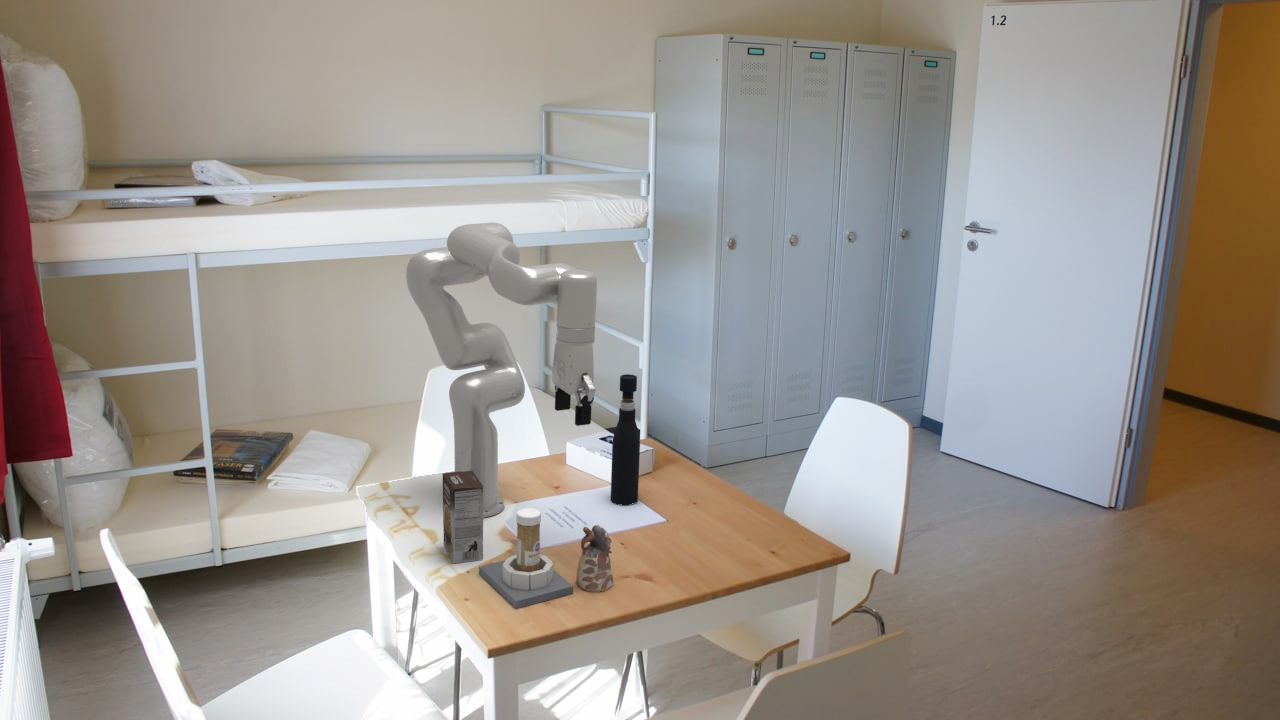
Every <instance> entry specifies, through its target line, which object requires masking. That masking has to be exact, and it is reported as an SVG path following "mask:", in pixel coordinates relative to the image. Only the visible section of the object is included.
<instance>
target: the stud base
mask: <svg viewBox="0 0 1280 720" xmlns="http://www.w3.org/2000/svg"><path fill="white" fill-rule="evenodd" d="M478 574H479V575H480V576H481V577H482V578H483V579H484V580H485V581H486V582H488V584H489V585H490V586H492V587H493V589H494V590H496V591H497V593H498V594H500V595H501V596H502V597H503V598H504V599H505V600H506V602H508V603H509V604H510V605H511V606H512V607H514V609H520V608H524V607H528V606H532V605H536V604H538V603H543V602H545V601H546V602H547V601H551V600H554V599H558V598H562V597H565V596H568V595H569V596H570V595H574V585H573V584H571V583H570V582H569V581H568V580H567V579H566V578H564V577H563V576H561V575H560V574H559V572H557V571H555V569H554V561H552V560H551V559H549V558H548V556H546V555H544V554H540V562H539V570H537V571H533V572H522V571H517V554H514V555H510V556H509V557H507V558H506V559H505V560H501V561H496V562H492V563H488V564H484V565H481V566H480V565H479V566H478Z"/></svg>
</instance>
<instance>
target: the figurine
mask: <svg viewBox="0 0 1280 720" xmlns="http://www.w3.org/2000/svg"><path fill="white" fill-rule="evenodd" d="M582 531H583V533H584V534H585V536H583V538H581V542H580V543H581V544H580V548H581V554H580V557H579V560H578V565H577V571H576V583H577V585H578V586H577V587H579V588H580V589H582V590H584V591H586V592H591V591H592V592H593V593H594V592H595V593H600V591H602V592H605V591H608V590H609V589H610V588H611V587H614V576H613V571H612V564H611V558H610V554H612V553H613V550H612V549H611V543H612V542H613V541H612V539H611V537H610V536H609V533H608V531H607V530H606V529H605V528H604V527H603V526H601V525H599V524H596V525H593V526H592V527H591V529H590V528H589V527H588V526H584V527H583V528H582ZM588 542H589V543H588ZM587 543H588V544H587ZM586 544H587V545H586ZM585 545H586V546H585ZM608 588H609V589H608ZM604 590H605V591H604Z"/></svg>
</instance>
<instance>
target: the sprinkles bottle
mask: <svg viewBox="0 0 1280 720" xmlns="http://www.w3.org/2000/svg"><path fill="white" fill-rule="evenodd" d="M541 522H542V512H541V511H540V510H539V509H537V508H531V507H526V508H525V507H524V508H521V509H519V510H517V512H516V526H517V528H516V529H517V530H516V534H517V535H516V555H517V571H522V572H533V571H537V570H539V562H540V555H541V544H540V543H541V542H540V541H541V540H540V539H541V536H540V535H541V533H540V531H541V530H540V529H541Z"/></svg>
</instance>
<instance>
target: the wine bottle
mask: <svg viewBox="0 0 1280 720" xmlns="http://www.w3.org/2000/svg"><path fill="white" fill-rule="evenodd" d="M637 382H638V376H637V375H634V374H622V375H620V376H619V391H620V392H622V397H621V398H622V400H621V401H620V402H619V403H620V406H619V407H620V408H619V409H618V421H617V424H616V427H615V430H614V431H613V438H612V446H611V447H612V448H611V449H612V451H611V472H610V473H611V474H610V475H611V479H610V502H611V503H613V504H614V503H616V504H615V505H618V504H622V505H621V506H630V505H629V504H632V503H635V502H637V503H638V502H639V483H640V482H639V480H640V477H639V475H640V453H641V440H640V439H641V438H640V434H639V433H640V432H639V429H638V425H637V422H636V408H635V404H636V402H635V401H634V393H636V392H637V388H638V386H637V385H638V383H637ZM635 504H636V503H635ZM632 505H633V504H632Z"/></svg>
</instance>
